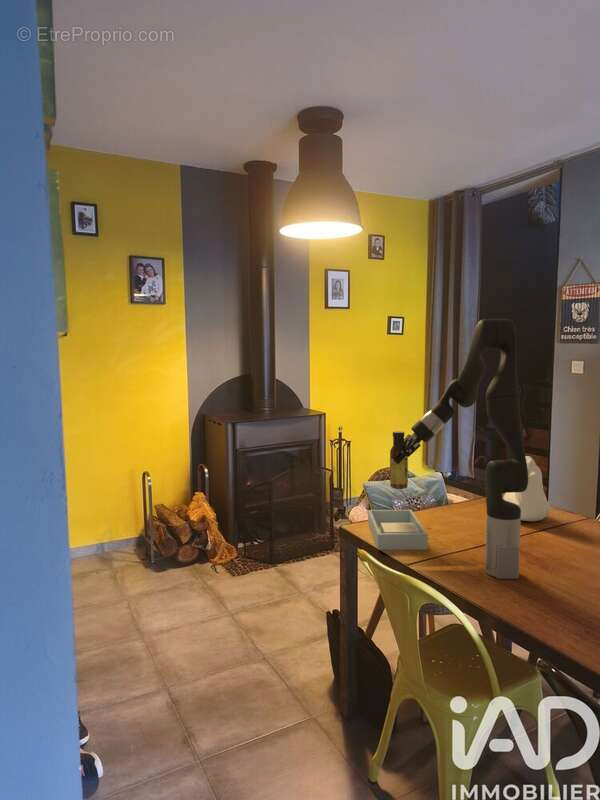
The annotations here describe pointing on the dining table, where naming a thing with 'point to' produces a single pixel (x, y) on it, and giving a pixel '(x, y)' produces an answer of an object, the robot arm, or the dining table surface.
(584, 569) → the dining table surface
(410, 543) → the tote
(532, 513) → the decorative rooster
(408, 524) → the tan rectangular block
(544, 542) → the dining table surface
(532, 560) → the dining table surface
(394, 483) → the sauce bottle
